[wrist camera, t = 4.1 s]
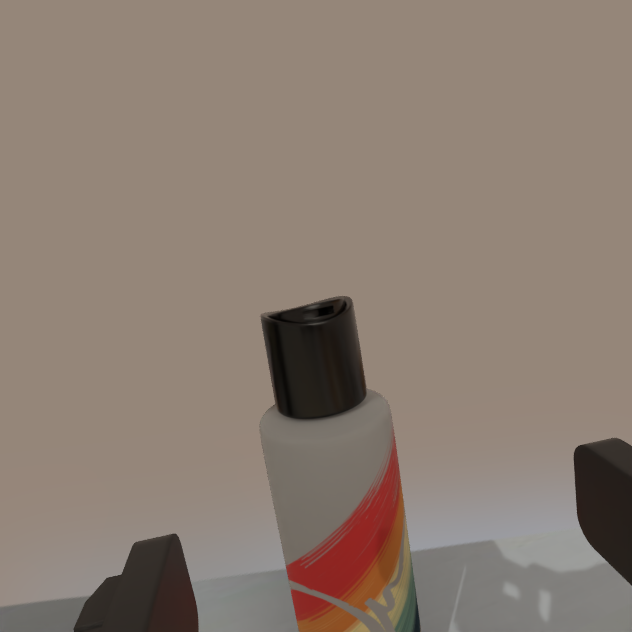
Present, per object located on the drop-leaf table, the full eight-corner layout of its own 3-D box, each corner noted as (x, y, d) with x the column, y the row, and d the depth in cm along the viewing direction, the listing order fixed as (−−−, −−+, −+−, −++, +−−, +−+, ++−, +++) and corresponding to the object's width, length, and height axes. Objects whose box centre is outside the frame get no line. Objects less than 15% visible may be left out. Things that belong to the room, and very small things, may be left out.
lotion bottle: (339, 780, 21) (252, 326, 16) (299, 669, 26) (224, 304, 22) (453, 718, 22) (401, 291, 18) (393, 626, 28) (341, 279, 23)
